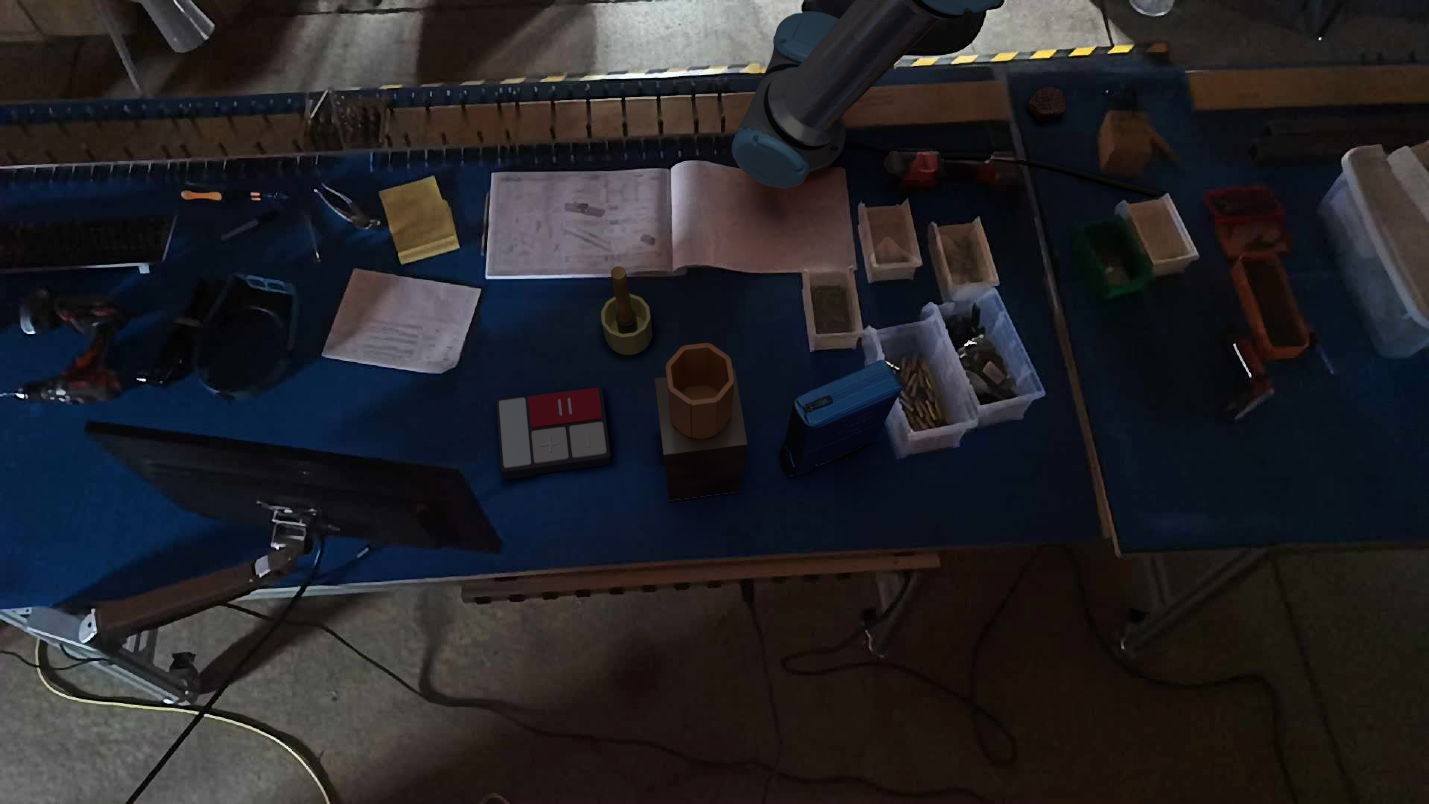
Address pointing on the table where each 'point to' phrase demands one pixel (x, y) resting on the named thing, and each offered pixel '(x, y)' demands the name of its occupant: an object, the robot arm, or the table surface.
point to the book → (838, 418)
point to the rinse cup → (629, 341)
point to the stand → (702, 453)
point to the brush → (623, 302)
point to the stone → (1047, 104)
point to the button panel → (552, 432)
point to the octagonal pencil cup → (700, 390)
